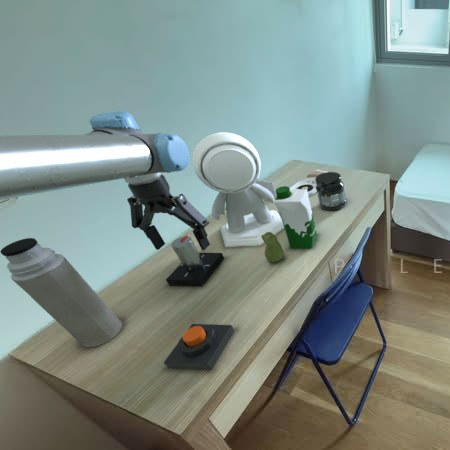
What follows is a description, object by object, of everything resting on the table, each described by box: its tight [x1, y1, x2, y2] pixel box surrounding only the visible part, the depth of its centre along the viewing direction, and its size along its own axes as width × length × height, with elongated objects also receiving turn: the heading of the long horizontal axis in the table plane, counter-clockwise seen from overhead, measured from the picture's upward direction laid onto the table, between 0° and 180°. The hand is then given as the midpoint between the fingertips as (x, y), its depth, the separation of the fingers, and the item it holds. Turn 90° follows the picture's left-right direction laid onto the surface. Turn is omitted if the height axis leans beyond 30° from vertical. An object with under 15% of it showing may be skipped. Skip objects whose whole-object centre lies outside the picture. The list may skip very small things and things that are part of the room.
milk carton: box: [273, 185, 318, 249], centre depth 97 cm, size 9×9×20 cm
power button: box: [182, 326, 206, 347], centre depth 69 cm, size 4×4×2 cm
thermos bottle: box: [0, 237, 123, 348], centre depth 68 cm, size 8×8×28 cm
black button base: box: [163, 323, 235, 371], centre depth 70 cm, size 10×10×4 cm
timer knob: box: [170, 235, 204, 271], centre depth 89 cm, size 5×5×9 cm
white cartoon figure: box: [191, 131, 285, 248], centre depth 100 cm, size 20×23×35 cm
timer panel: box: [165, 251, 225, 288], centre depth 92 cm, size 12×10×3 cm
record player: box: [289, 169, 327, 197], centre depth 135 cm, size 12×3×20 cm
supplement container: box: [315, 171, 347, 211], centre depth 119 cm, size 10×10×12 cm
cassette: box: [255, 178, 277, 200], centre depth 127 cm, size 12×2×8 cm, turn 67°
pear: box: [261, 232, 284, 263], centre depth 93 cm, size 6×5×10 cm
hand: (183, 247), depth 87 cm, fingers open, 13 cm apart
